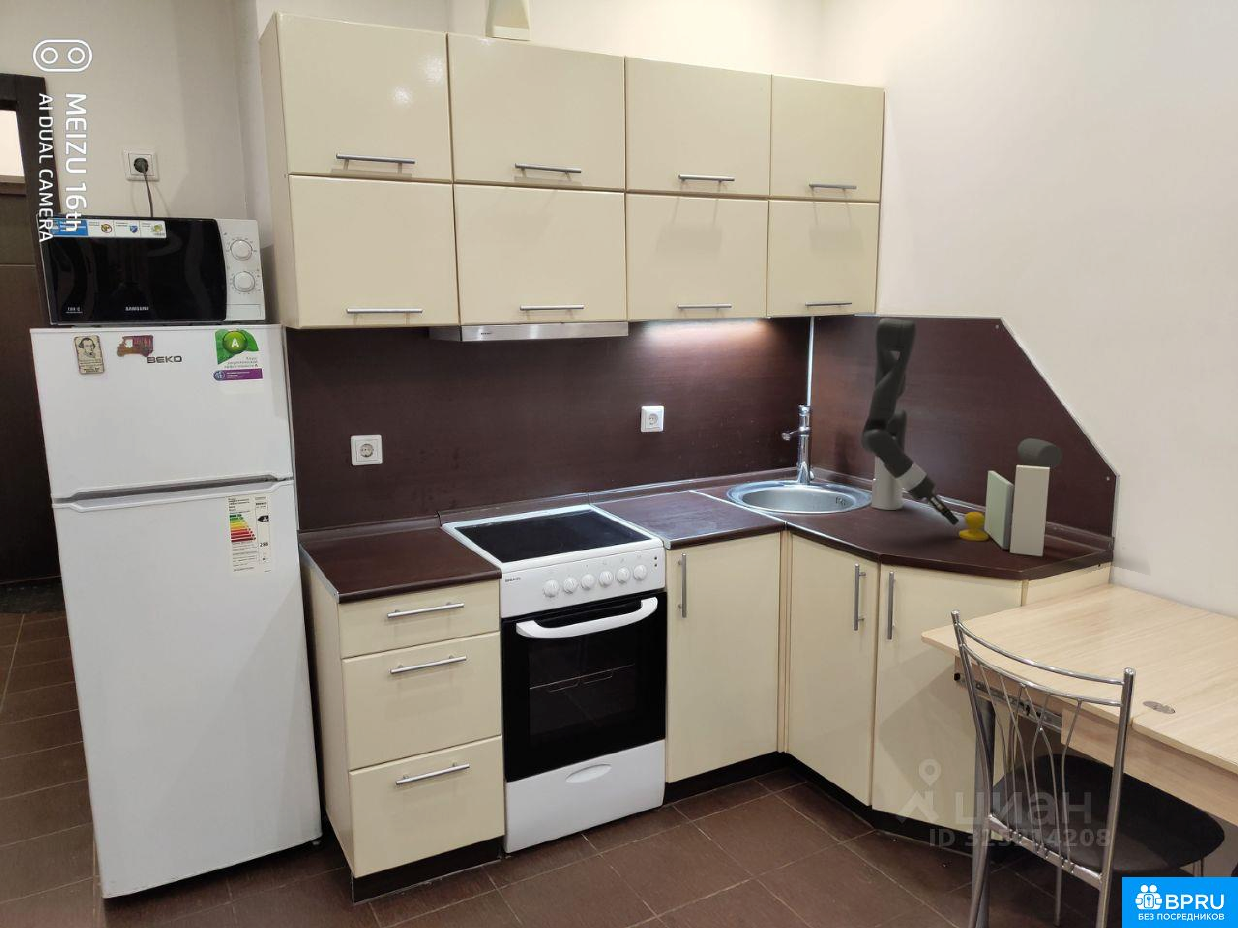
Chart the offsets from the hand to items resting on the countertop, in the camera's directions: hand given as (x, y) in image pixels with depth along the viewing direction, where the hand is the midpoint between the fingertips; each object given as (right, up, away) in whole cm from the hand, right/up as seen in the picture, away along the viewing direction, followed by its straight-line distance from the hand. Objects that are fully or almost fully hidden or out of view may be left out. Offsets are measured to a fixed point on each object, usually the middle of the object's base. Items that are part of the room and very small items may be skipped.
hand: (955, 522), depth 259 cm
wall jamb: (+13, -7, -17) cm, 22 cm away
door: (+10, -4, -5) cm, 12 cm away
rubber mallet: (+18, -6, -8) cm, 21 cm away
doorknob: (+5, -4, 0) cm, 7 cm away
